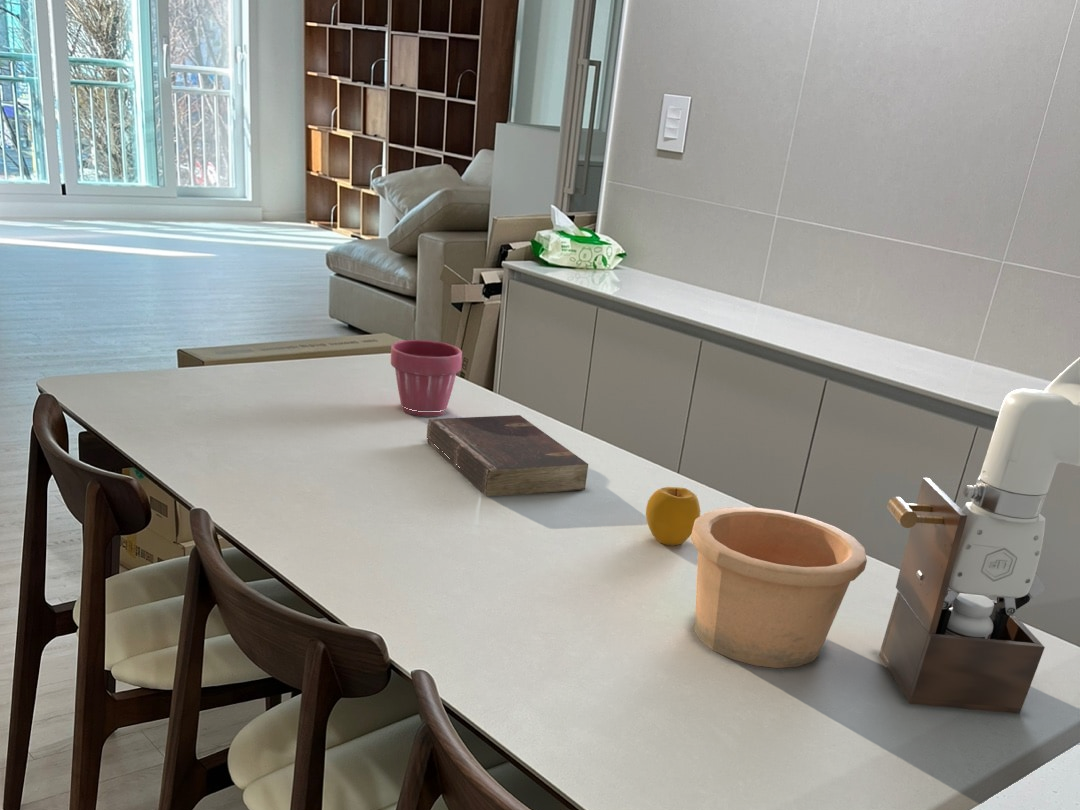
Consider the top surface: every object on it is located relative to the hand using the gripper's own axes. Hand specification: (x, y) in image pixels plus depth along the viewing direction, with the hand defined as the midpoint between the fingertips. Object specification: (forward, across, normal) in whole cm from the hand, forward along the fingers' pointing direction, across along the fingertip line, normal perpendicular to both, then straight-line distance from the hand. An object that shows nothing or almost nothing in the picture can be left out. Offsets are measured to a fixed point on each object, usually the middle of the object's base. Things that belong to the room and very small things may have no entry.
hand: (962, 635), depth 131 cm
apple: (+7, -31, +40) cm, 51 cm away
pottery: (+7, -23, +8) cm, 25 cm away
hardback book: (+7, -58, +69) cm, 90 cm away
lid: (-10, -7, 0) cm, 12 cm away
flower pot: (+7, -75, +100) cm, 125 cm away
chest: (+7, 0, 0) cm, 7 cm away
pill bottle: (+6, 0, 0) cm, 6 cm away
